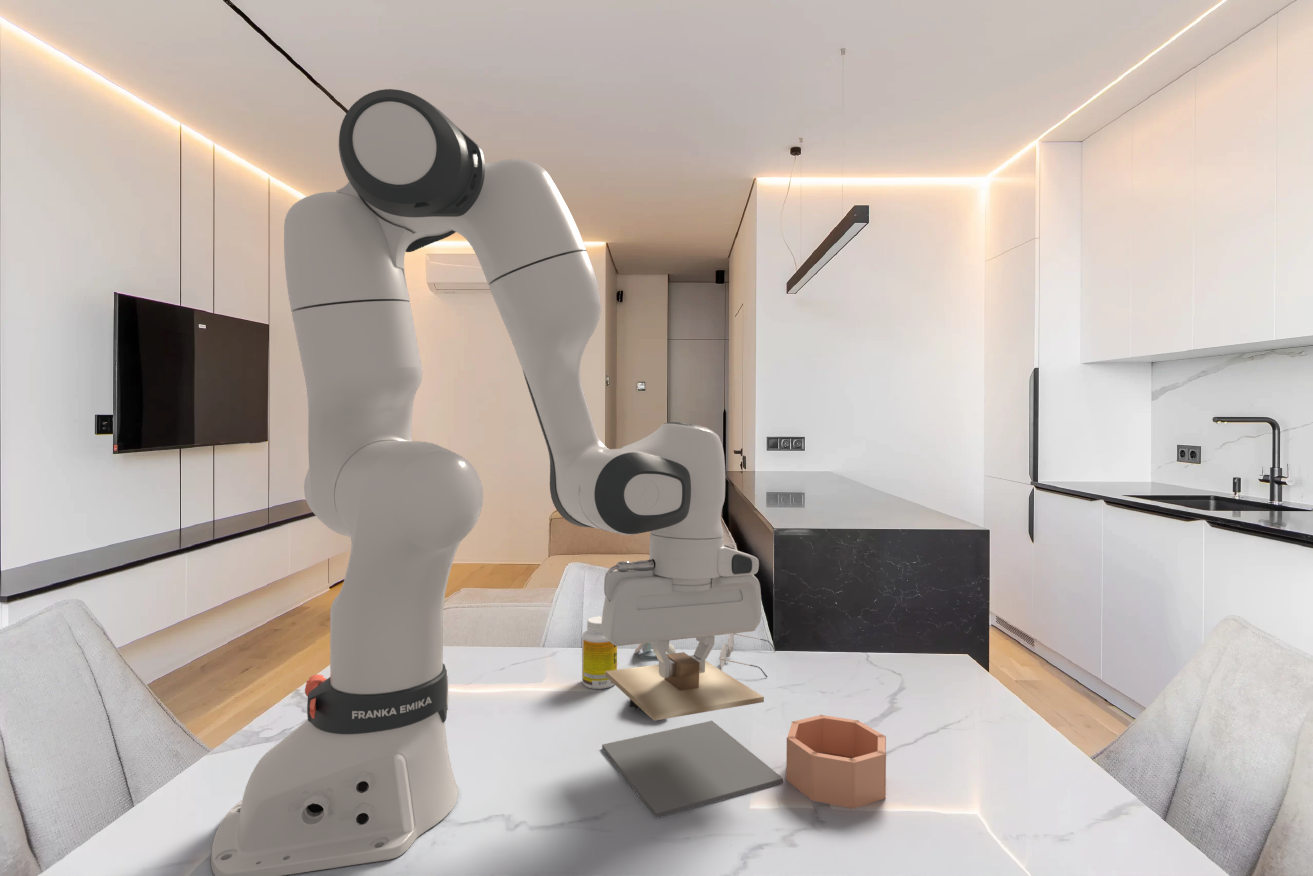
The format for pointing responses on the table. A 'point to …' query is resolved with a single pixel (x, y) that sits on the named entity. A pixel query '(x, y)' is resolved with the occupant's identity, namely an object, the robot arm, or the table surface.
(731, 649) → the eyeglasses
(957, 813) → the table surface
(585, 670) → the supplement bottle
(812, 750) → the bowl
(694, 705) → the sheet
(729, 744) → the mat
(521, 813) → the table surface
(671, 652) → the pacifier
